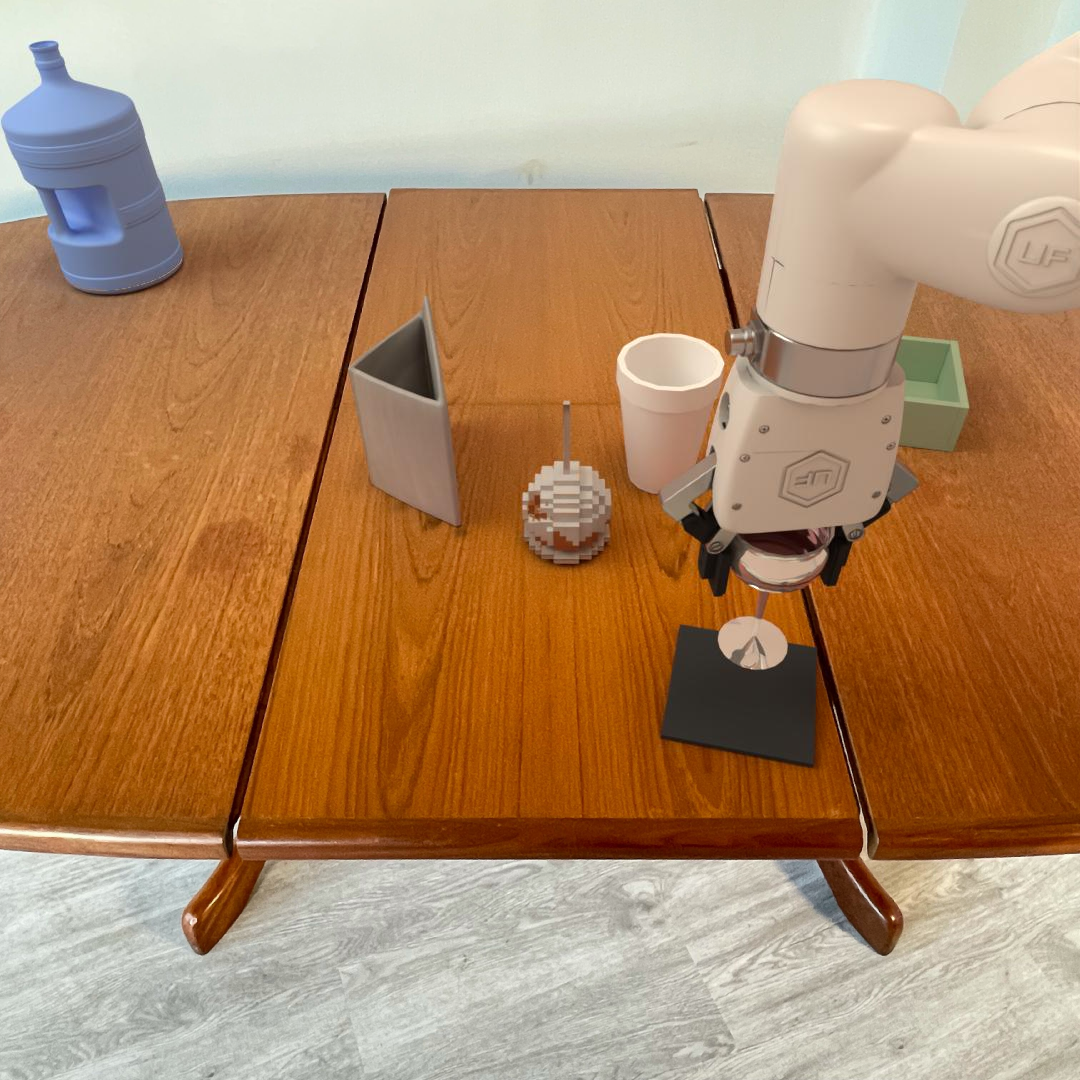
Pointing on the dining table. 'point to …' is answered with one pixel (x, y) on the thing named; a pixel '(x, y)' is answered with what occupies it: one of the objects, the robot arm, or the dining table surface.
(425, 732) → the dining table surface
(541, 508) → the decorative ornament
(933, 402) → the bin
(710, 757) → the dining table surface
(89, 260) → the water jug
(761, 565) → the wineglass
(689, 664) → the mat
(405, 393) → the planter
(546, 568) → the dining table surface
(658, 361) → the foam cup
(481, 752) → the dining table surface
